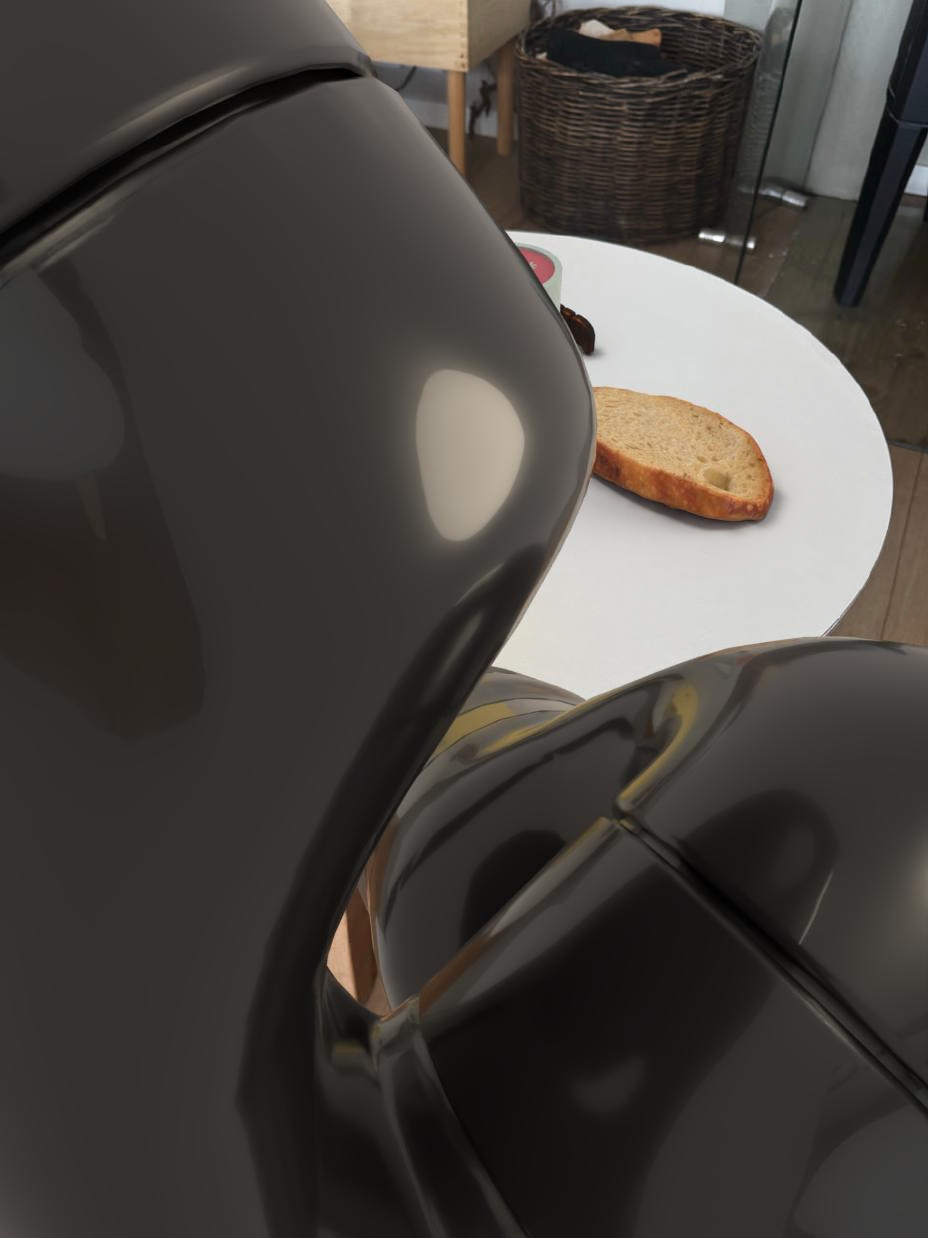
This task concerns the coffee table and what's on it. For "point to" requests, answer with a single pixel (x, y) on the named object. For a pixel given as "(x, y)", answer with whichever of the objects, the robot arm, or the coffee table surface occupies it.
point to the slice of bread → (680, 455)
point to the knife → (579, 329)
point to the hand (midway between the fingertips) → (431, 735)
